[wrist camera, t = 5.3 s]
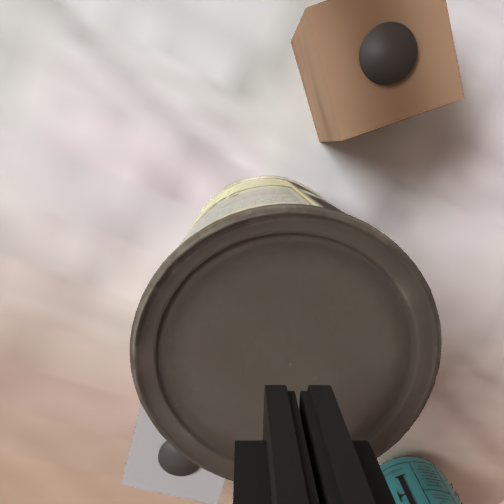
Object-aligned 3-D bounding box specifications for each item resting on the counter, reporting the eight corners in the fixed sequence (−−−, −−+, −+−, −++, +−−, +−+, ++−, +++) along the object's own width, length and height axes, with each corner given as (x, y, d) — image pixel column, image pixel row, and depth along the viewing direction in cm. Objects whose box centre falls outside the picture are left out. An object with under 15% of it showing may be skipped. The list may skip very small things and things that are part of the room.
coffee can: (363, 197, 26) (495, 256, 12) (314, 338, 28) (379, 515, 15) (208, 154, 25) (166, 165, 11) (172, 302, 28) (102, 456, 14)
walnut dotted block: (389, 5, 23) (440, -44, 17) (412, 109, 25) (466, 97, 19) (290, 41, 24) (306, 6, 18) (319, 141, 25) (342, 140, 19)
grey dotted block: (243, 369, 29) (243, 427, 23) (221, 436, 31) (216, 508, 25) (162, 349, 29) (140, 403, 23) (144, 419, 30) (119, 487, 24)
